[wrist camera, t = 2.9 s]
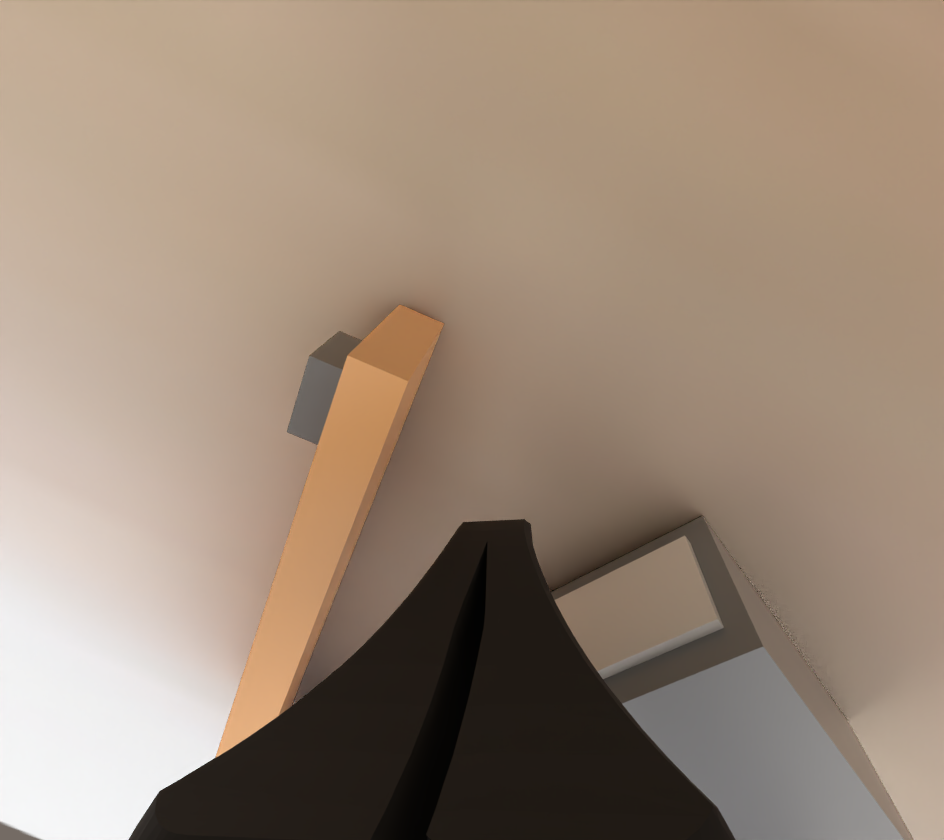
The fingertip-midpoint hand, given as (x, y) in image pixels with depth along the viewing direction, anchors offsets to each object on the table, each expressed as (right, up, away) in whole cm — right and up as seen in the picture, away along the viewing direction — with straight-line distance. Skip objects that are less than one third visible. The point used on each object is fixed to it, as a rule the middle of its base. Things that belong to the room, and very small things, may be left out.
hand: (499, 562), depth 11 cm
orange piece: (-5, -1, +3) cm, 6 cm away
